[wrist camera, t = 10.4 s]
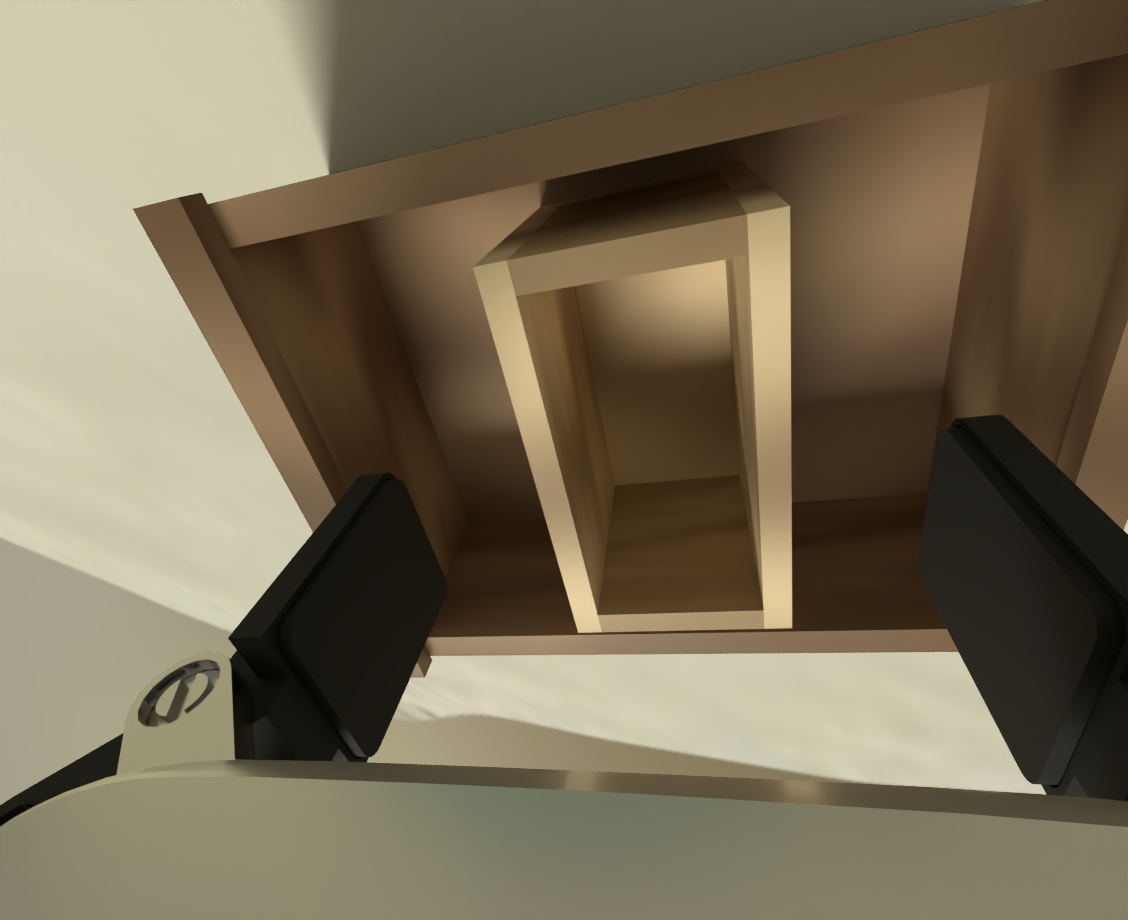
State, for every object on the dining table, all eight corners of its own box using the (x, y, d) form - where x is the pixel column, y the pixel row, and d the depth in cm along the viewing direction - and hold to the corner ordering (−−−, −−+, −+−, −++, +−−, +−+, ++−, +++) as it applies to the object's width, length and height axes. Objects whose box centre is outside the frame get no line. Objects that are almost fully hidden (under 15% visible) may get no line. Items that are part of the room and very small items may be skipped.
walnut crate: (322, 168, 15) (133, 209, 10) (1035, -9, 11) (1370, -102, 6) (461, 532, 22) (393, 677, 17) (945, 501, 18) (1065, 679, 13)
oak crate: (540, 206, 14) (472, 267, 9) (744, 163, 13) (789, 205, 8) (601, 491, 19) (578, 632, 14) (757, 478, 18) (792, 627, 13)
